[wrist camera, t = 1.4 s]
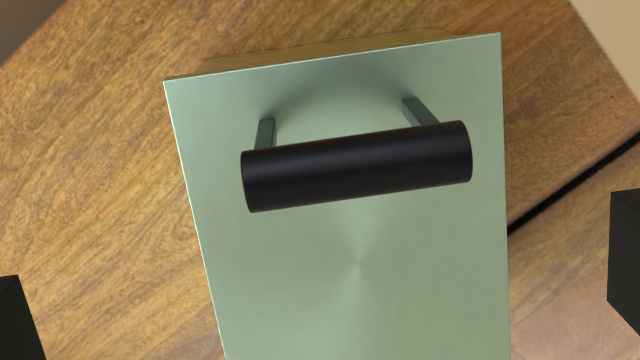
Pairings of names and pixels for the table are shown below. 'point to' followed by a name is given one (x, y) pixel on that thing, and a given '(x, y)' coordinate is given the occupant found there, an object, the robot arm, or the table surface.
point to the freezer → (322, 48)
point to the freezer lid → (352, 201)
